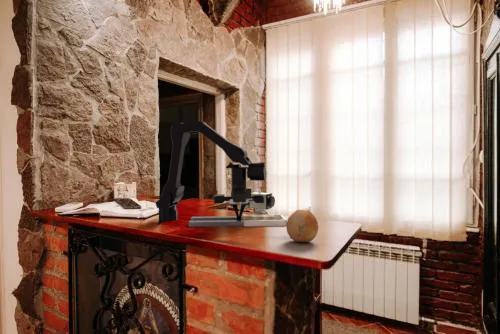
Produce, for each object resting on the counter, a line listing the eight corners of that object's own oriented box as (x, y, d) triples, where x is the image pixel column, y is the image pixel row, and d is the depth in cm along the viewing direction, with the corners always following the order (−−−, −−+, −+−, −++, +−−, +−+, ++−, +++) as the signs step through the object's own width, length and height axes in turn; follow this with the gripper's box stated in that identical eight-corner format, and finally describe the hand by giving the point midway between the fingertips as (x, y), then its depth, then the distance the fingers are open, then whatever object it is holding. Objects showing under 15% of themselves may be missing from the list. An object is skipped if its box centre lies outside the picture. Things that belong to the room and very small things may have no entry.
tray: (243, 228, 112) (244, 220, 112) (242, 222, 124) (242, 214, 124) (286, 228, 114) (286, 220, 113) (281, 221, 125) (281, 214, 125)
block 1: (242, 223, 116) (243, 215, 116) (241, 221, 120) (242, 213, 120) (252, 224, 117) (253, 216, 117) (251, 222, 120) (252, 215, 120)
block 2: (253, 224, 117) (253, 216, 117) (252, 222, 120) (252, 215, 120) (264, 224, 117) (264, 216, 117) (263, 222, 121) (263, 214, 120)
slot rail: (188, 229, 112) (188, 222, 112) (191, 223, 122) (191, 216, 121) (243, 228, 113) (243, 221, 113) (242, 222, 123) (242, 216, 123)
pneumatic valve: (270, 221, 126) (270, 192, 125) (245, 218, 131) (245, 190, 131) (275, 218, 130) (276, 190, 130) (251, 216, 136) (251, 189, 135)
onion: (288, 246, 91) (288, 213, 90) (284, 237, 100) (284, 207, 100) (321, 246, 91) (321, 213, 90) (314, 237, 101) (314, 207, 100)
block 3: (264, 224, 117) (264, 216, 117) (263, 222, 121) (263, 214, 120) (274, 224, 117) (274, 216, 117) (273, 222, 121) (273, 214, 121)
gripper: (213, 182, 109) (213, 226, 109) (265, 182, 110) (265, 225, 111) (214, 180, 120) (214, 219, 120) (262, 179, 121) (262, 219, 122)
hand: (238, 221), depth 118 cm, fingers closed
